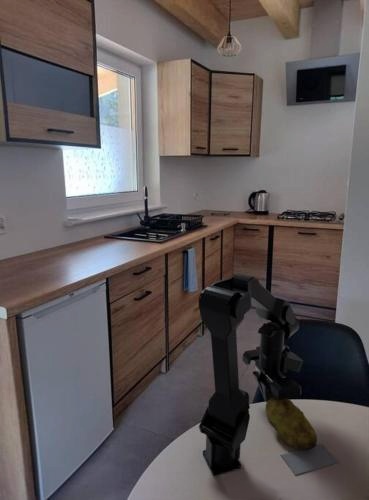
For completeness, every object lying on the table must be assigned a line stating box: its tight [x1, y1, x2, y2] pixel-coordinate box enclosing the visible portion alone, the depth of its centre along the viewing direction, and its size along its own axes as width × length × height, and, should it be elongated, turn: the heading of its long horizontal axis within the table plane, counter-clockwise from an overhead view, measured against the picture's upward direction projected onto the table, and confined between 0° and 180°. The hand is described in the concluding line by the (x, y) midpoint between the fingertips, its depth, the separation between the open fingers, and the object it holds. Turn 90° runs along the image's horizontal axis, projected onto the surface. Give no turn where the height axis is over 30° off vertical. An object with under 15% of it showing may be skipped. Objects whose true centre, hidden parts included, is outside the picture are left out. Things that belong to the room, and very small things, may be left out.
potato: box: [265, 396, 318, 450], centre depth 83 cm, size 8×13×8 cm, turn 15°
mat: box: [280, 443, 340, 476], centre depth 77 cm, size 11×5×1 cm, turn 108°
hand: (267, 401), depth 92 cm, fingers closed
